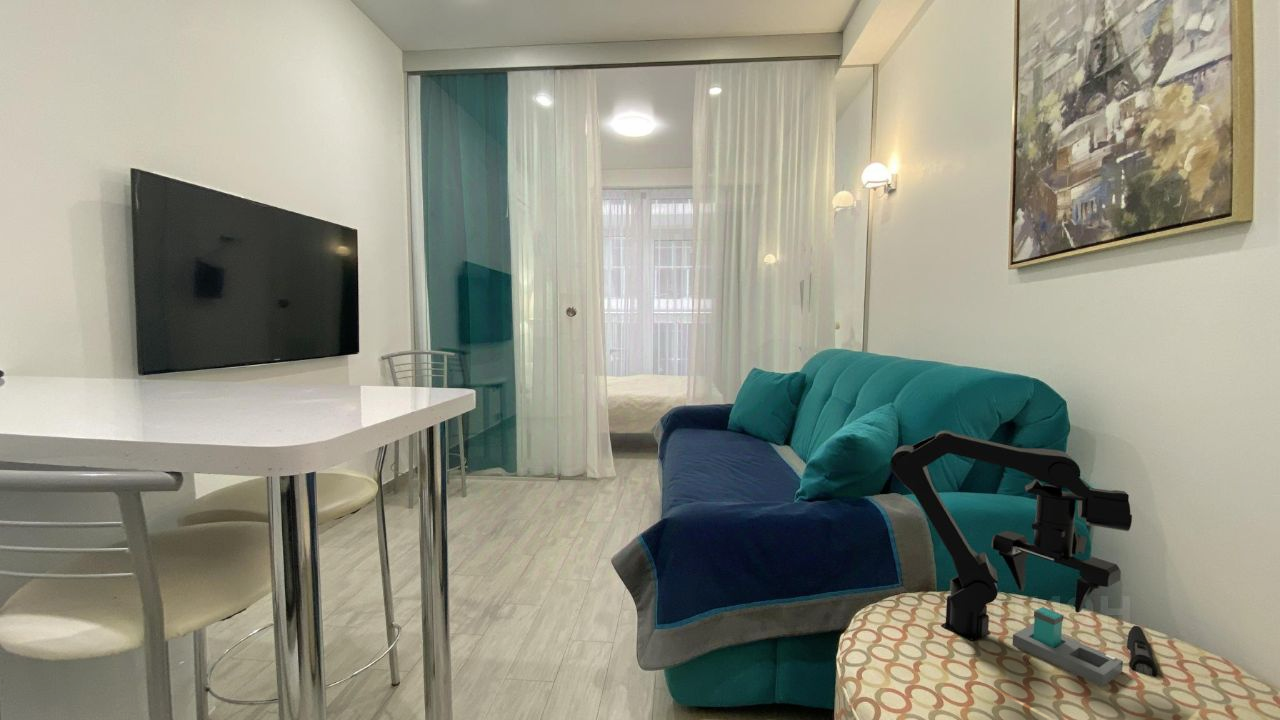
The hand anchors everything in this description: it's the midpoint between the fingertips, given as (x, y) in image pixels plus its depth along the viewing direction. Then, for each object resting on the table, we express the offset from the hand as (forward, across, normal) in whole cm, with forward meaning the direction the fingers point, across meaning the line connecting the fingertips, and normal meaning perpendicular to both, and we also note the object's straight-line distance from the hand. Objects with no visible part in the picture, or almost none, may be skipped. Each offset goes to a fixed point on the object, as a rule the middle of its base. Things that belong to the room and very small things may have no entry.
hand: (1048, 600), depth 103 cm
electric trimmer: (+10, -10, -14) cm, 20 cm away
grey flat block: (+10, -3, 0) cm, 10 cm away
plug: (+9, 0, 0) cm, 9 cm away
